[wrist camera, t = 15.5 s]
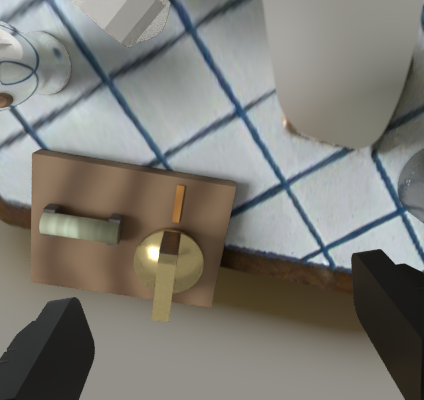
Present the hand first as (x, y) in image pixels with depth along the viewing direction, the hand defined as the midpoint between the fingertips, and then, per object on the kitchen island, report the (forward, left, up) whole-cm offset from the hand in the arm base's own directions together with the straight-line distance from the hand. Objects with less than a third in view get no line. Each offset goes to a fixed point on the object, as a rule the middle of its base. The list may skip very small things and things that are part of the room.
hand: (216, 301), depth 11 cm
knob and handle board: (+7, +14, -32) cm, 36 cm away
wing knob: (+2, +16, -30) cm, 34 cm away
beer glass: (+18, -3, -32) cm, 37 cm away
